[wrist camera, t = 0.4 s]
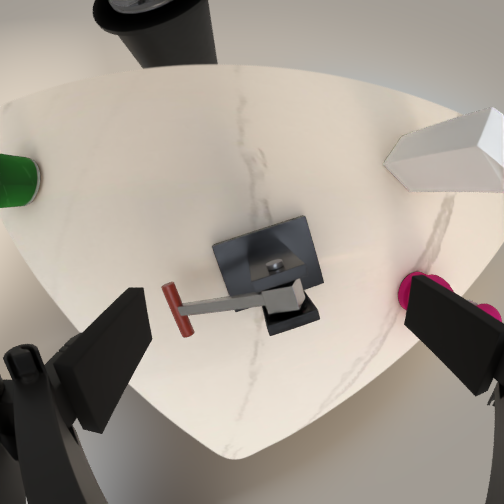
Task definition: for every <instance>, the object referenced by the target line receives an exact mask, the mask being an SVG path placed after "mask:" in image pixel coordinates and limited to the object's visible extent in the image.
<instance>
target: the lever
mask: <svg viewBox="0 0 504 504" xmlns="http://www.w3.org/2000/svg"><path fill="white" fill-rule="evenodd" d="M161 288H162V290H163V293H164V295H165V297H166V300H167V302H168V305H169V307H170V309H171V312H172V314H173V316H174V319H175V321H176V323H177V326H178V328H179V330H180V332H181V334H182V337H189V336H191V335H193V334H194V330H193V327H192V325H191V323H190V320H189V318H188V316H187V315H196V314H204V313H213V312H221V311H229V310H236V309H244V308H251V307H258V306H265V305H266V308H267V311H268V314H274V313H282V312H289V311H295V310H300V308H301V306H302V303H303V301H304V299H305V294H304V291H303V287H302V284H301V280H300V279H297V280H294V281H291V282H288V283H285V284H282V285H279V286H276V287H273V288H270V289H267V290H264V291H261V292H257V293H255V292H252V293H246V294H240V295H234V296H227V297H221V298H215V299H208V300H202V301H195V302H188V303H182V301H181V299H180V296H179V294H178V291H177V289H176V286H175V284H174V282H169V283H167V284H164V285H163V286H162V287H161Z"/></svg>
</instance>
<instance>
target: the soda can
mask: <svg viewBox="0 0 504 504" xmlns="http://www.w3.org/2000/svg"><path fill="white" fill-rule="evenodd" d="M39 186H40V171H39V168H38V165H37V164H36V162H35V161H34V160H32V159H30V158H26V157H19V156H12V155H5V154H0V208H5V207H17V206H25V205H27V204H30V203H31V202H32V200H33V199H34V198H35V196H36V194H37V192H38V189H39Z"/></svg>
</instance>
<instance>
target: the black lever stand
mask: <svg viewBox="0 0 504 504" xmlns="http://www.w3.org/2000/svg"><path fill="white" fill-rule="evenodd" d="M212 248H213V251H214V254H215V257H216V259H217V262H218V265H219V268H220V271H221V273H222V276H223V279H224V282H225V284H226V287H227V290H228V293H229V295H230V296H234V295H240V294H246V293H252V292H255V293H257V292H261V291H264V290H267V289H270V288H273V287H276V286H279V285H282V284H285V283H288V282H291V281H294V280H297V279H300V280H301V284H302V287H303V291H304V290H305V289H308V288H311V287H314V286H317V285H319V284H322V283H324V281H323V277H322V273H321V269H320V266H319V262H318V258H317V255H316V251H315V248H314V244H313V241H312V237H311V234H310V230H309V227H308V223H307V220H306V217H305V216H299V217H296V218H293V219H290V220H287V221H284V222H281V223H277V224H274V225H271V226H268V227H265V228H262V229H259V230H256V231H253V232H250V233H247V234H244V235H241V236H238V237H235V238H232V239H229V240H226V241H223V242H220V243H217V244H214V245H213V246H212ZM304 294H305V299H304V301H303V303H302V306H301V308H300V310H295V311H289V312H282V313H274V314H268V311H267V308H266V305H265V306H262V308H263V312H264V317H265V322H266V326H267V329H268V332H269V335H270V336H272V335H275V334H279V333H282V332H285V331H288V330H291V329H294V328H297V327H300V326H302V325H305V324H308V323H311V322H314V321H317V320H319V319H320V316H319V313H318V309H317V308H316V307H315V305H314V304H313V302H312V301H311V300H310V298H309V297H308V295H307V294H306V293H305V291H304ZM244 309H248V308H244ZM244 309H236V310H235V312H238V311H241V310H244Z"/></svg>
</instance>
